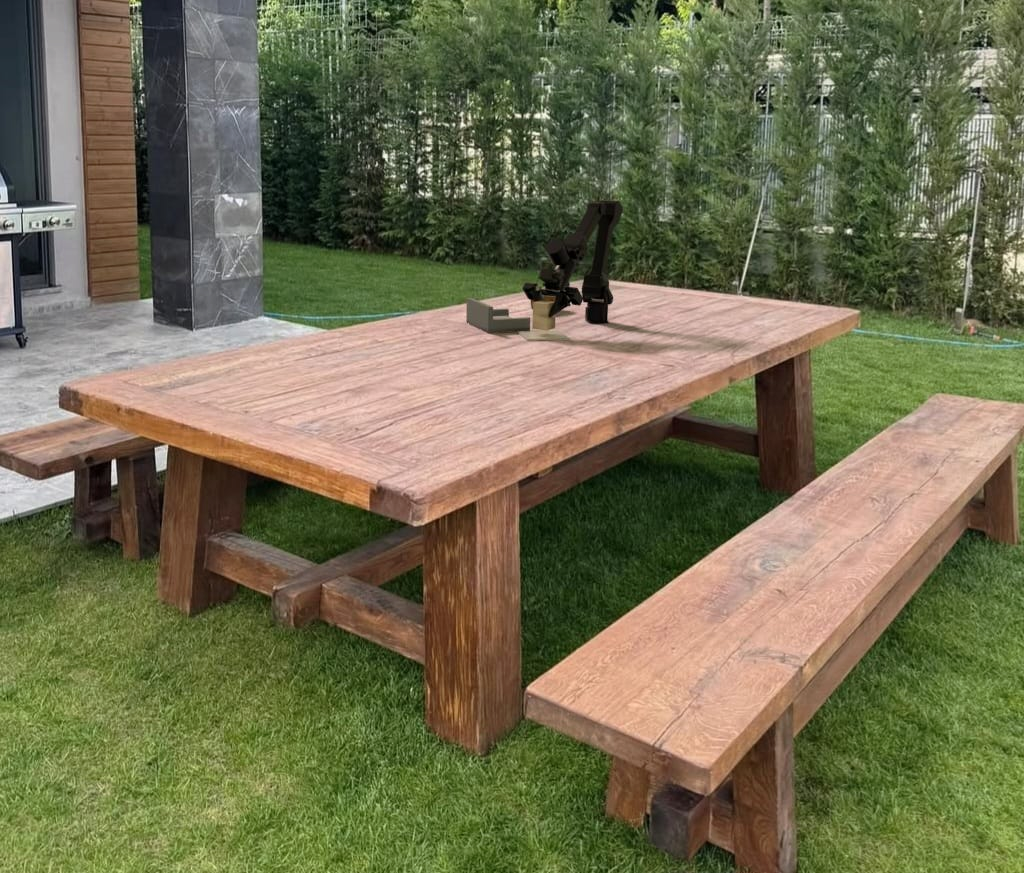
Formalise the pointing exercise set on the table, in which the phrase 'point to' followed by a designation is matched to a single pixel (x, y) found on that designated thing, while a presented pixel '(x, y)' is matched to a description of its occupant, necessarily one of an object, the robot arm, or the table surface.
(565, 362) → the table surface
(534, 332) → the tile
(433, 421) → the table surface
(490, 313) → the grey walled tray
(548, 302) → the block
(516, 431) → the table surface
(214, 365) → the table surface
